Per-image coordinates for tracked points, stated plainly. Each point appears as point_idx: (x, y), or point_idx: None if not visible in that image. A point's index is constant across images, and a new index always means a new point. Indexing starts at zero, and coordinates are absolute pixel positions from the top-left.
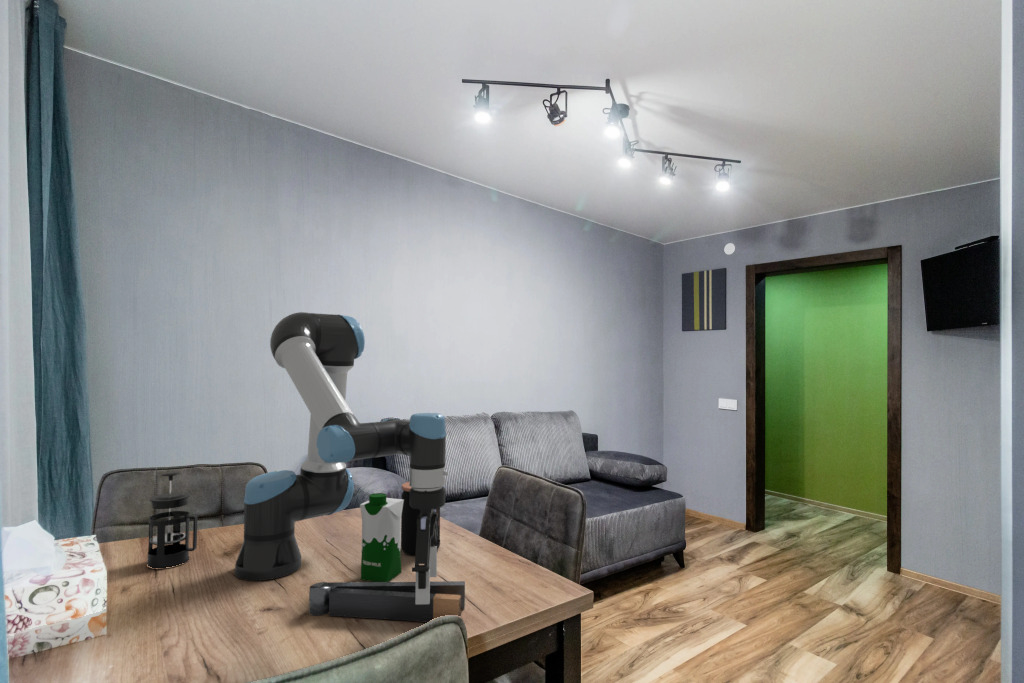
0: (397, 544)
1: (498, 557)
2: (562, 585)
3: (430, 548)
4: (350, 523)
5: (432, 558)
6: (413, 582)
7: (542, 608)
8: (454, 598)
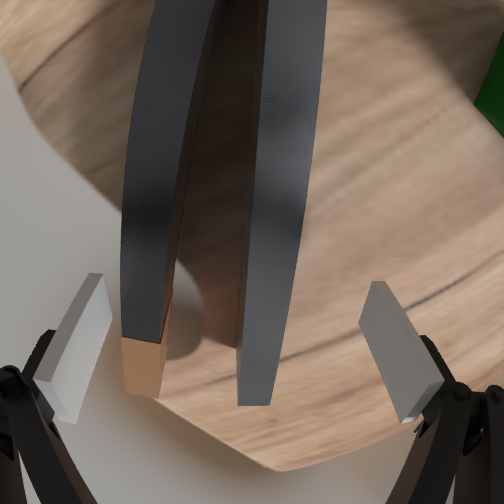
0: None
1: (484, 372)
2: (320, 457)
3: (413, 400)
4: None
5: (390, 367)
6: (289, 255)
7: (232, 444)
8: (130, 385)
